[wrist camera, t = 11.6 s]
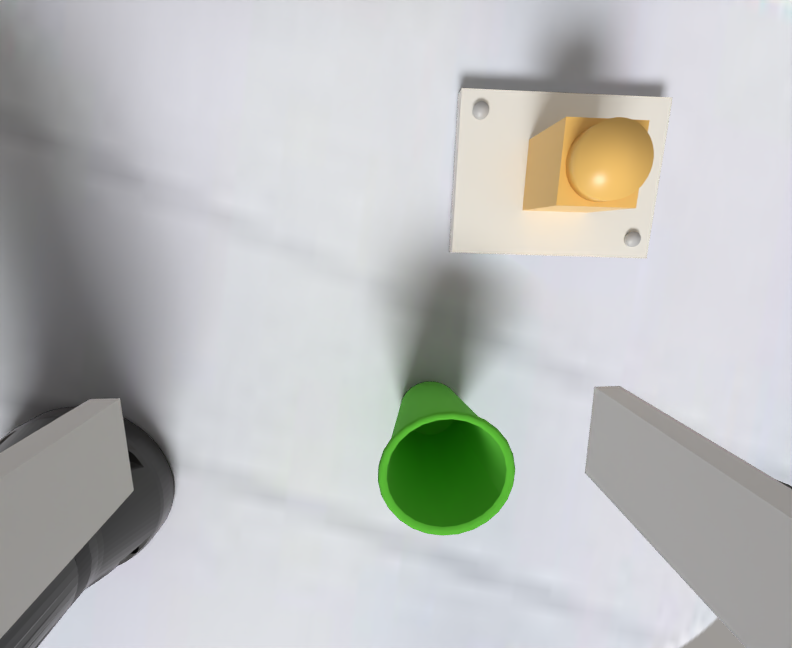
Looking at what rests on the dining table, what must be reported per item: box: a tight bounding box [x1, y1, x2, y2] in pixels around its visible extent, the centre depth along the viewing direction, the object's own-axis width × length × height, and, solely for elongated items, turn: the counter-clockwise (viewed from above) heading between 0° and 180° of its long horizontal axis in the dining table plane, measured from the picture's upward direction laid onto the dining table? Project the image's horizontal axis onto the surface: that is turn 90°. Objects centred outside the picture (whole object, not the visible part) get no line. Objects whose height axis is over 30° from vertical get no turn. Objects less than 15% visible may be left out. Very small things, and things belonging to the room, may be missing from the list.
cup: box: [378, 381, 515, 535], centre depth 32 cm, size 9×9×11 cm
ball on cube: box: [522, 117, 654, 213], centre depth 28 cm, size 5×5×8 cm
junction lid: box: [449, 88, 672, 258], centre depth 31 cm, size 16×12×6 cm
